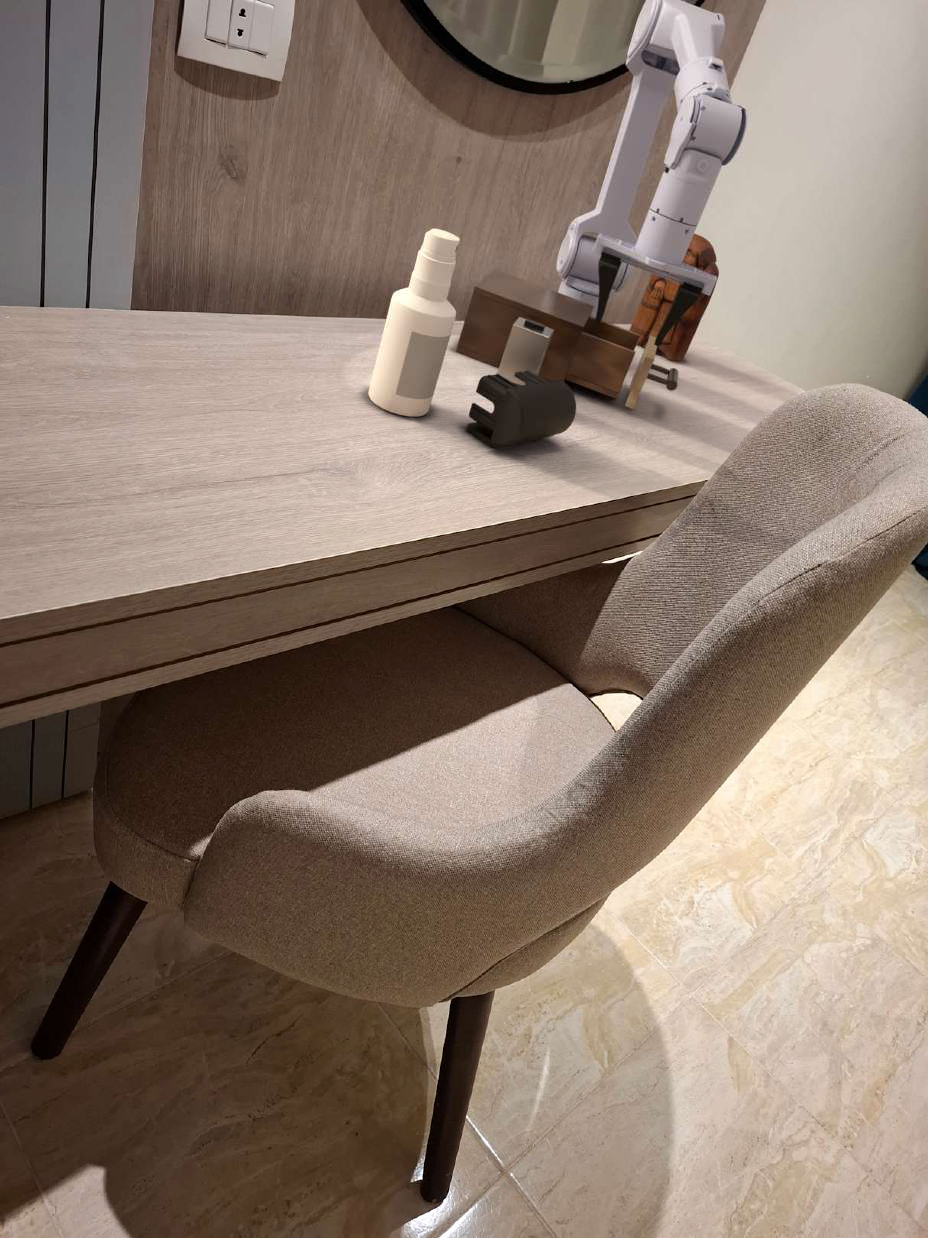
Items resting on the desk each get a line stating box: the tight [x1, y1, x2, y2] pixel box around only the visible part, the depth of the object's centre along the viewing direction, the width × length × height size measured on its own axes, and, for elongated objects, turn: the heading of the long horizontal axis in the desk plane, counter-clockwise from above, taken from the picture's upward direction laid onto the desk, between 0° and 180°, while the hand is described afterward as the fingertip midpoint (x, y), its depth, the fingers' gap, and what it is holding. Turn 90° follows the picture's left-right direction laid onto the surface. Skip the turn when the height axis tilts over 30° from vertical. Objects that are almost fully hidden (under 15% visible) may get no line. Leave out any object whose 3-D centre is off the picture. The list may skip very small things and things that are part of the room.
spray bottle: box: [368, 228, 461, 417], centre depth 93 cm, size 7×7×18 cm
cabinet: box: [455, 268, 594, 383], centre depth 121 cm, size 15×13×9 cm
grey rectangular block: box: [496, 317, 554, 385], centre depth 109 cm, size 4×4×9 cm
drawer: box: [565, 316, 679, 410], centre depth 120 cm, size 18×11×7 cm, turn 76°
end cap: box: [466, 370, 577, 449], centre depth 97 cm, size 10×7×7 cm
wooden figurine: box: [628, 233, 720, 361], centre depth 144 cm, size 12×6×18 cm, turn 49°
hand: (627, 332), depth 109 cm, fingers open, 7 cm apart
